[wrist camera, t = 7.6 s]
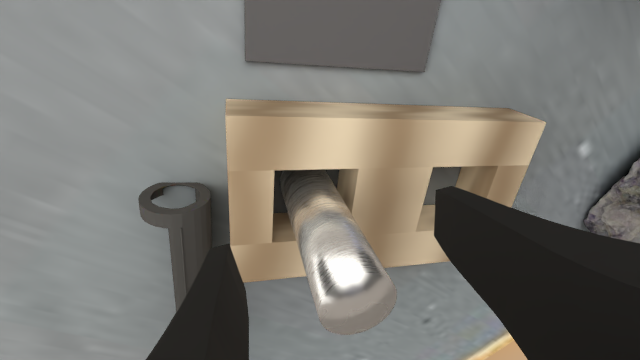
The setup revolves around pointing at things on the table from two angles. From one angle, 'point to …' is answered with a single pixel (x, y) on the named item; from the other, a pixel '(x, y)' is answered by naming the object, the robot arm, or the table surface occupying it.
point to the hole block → (365, 171)
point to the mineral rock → (619, 209)
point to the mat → (341, 32)
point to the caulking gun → (182, 232)
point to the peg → (336, 255)
